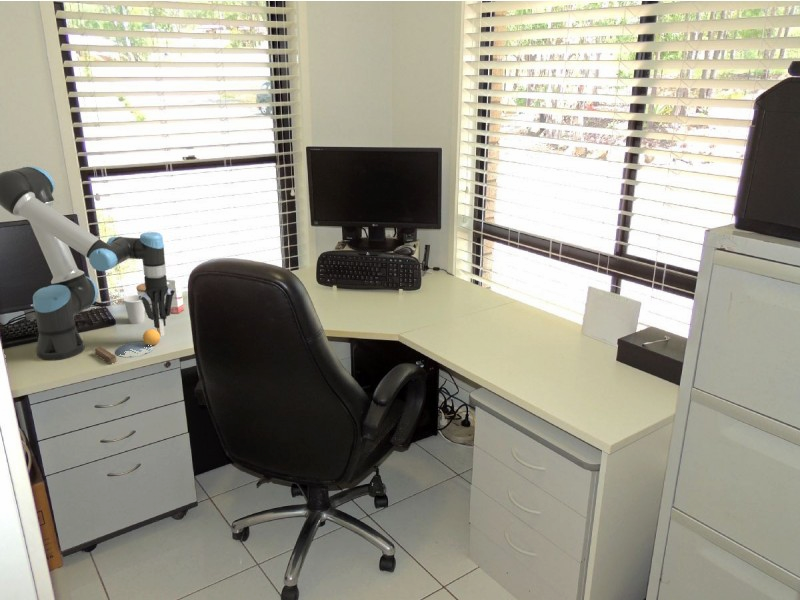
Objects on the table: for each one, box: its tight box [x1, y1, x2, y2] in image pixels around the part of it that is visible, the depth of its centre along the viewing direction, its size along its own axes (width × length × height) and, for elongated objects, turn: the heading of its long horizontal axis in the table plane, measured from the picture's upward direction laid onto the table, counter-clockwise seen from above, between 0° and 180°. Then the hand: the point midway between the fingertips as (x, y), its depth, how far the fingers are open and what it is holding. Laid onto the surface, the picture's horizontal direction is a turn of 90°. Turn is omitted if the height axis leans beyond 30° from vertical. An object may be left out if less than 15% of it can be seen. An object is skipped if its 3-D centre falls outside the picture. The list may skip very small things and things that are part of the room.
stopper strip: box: [94, 346, 117, 365], centre depth 219 cm, size 2×12×2 cm, turn 48°
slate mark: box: [115, 341, 154, 356], centre depth 227 cm, size 13×13×1 cm
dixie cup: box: [122, 294, 146, 325], centre depth 251 cm, size 8×8×10 cm
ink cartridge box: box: [164, 279, 185, 314], centre depth 263 cm, size 9×5×15 cm, turn 80°
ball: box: [142, 328, 161, 346], centre depth 231 cm, size 6×6×6 cm
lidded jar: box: [136, 282, 152, 306], centre depth 273 cm, size 11×11×9 cm
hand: (160, 334), depth 234 cm, fingers closed
